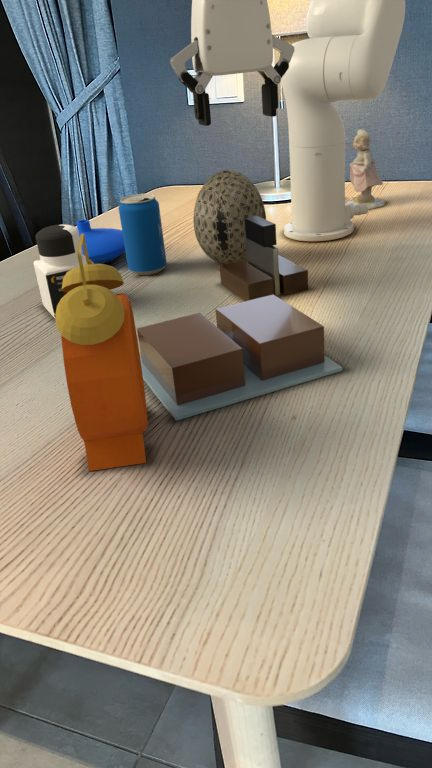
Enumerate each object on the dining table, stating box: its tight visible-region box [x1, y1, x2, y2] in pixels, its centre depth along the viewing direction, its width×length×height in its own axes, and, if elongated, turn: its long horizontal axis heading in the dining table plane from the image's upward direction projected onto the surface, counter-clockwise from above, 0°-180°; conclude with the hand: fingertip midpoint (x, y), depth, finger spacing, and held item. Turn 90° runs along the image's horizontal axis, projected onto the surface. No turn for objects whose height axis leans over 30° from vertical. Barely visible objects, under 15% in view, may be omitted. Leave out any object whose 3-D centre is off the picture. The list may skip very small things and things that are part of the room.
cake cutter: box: [245, 216, 281, 297], centre depth 98 cm, size 2×9×10 cm, turn 23°
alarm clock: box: [54, 234, 148, 472], centre depth 62 cm, size 13×6×20 cm, turn 7°
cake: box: [136, 295, 343, 422], centre depth 77 cm, size 20×16×5 cm
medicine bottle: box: [33, 224, 94, 319], centre depth 97 cm, size 7×7×12 cm
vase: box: [76, 219, 126, 264], centre depth 118 cm, size 16×16×7 cm
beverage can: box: [118, 193, 168, 276], centre depth 109 cm, size 6×6×12 cm
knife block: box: [219, 254, 309, 302], centre depth 100 cm, size 10×10×3 cm
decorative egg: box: [193, 169, 267, 265], centre depth 108 cm, size 12×12×15 cm
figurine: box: [345, 128, 386, 210], centre depth 135 cm, size 11×10×15 cm
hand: (237, 120), depth 92 cm, fingers open, 9 cm apart
